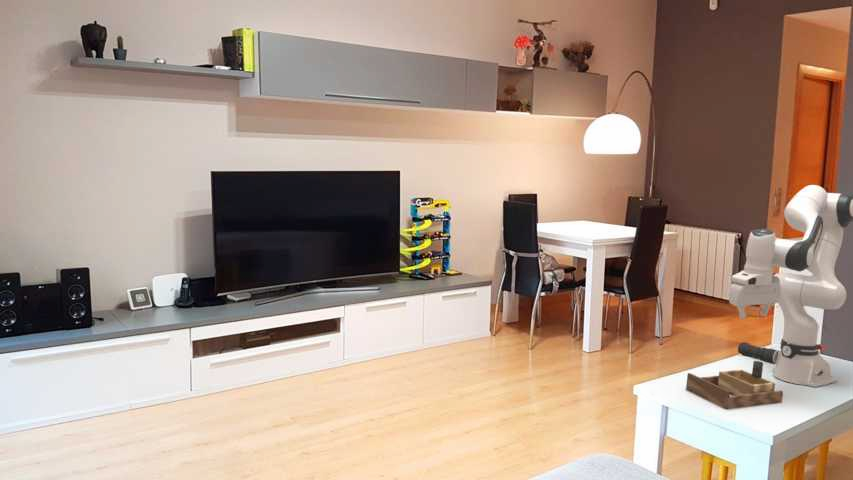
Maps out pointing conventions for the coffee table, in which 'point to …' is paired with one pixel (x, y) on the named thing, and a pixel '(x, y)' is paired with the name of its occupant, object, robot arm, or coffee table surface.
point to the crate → (745, 381)
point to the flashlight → (758, 352)
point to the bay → (728, 393)
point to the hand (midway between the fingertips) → (753, 316)
